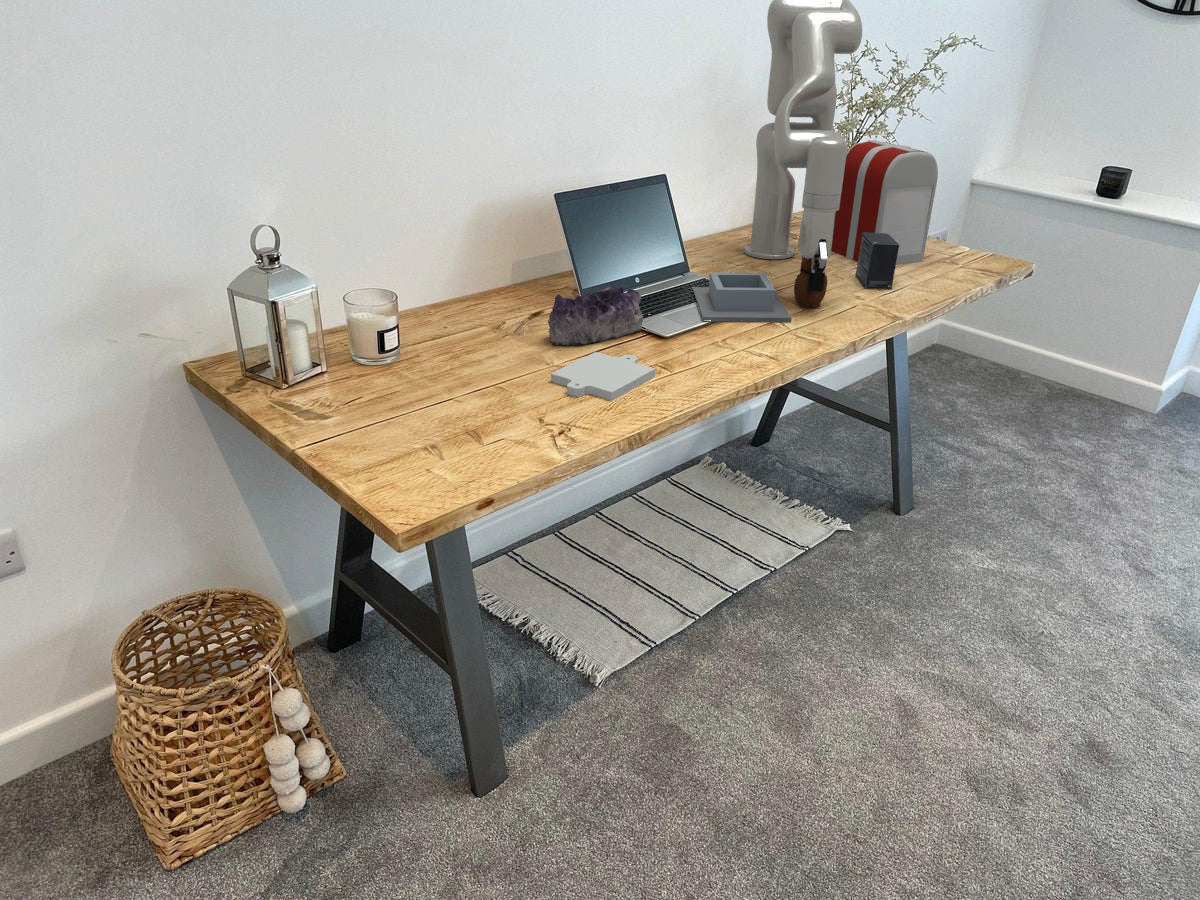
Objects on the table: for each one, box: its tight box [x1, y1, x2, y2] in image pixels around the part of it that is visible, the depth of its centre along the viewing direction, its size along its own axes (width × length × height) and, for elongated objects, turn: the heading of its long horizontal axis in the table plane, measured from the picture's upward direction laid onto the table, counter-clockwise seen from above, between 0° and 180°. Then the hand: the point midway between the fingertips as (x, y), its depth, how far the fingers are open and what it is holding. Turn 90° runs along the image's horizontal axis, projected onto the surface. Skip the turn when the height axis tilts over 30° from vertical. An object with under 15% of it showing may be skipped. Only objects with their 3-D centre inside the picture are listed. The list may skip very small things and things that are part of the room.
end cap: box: [692, 272, 792, 323], centre depth 196 cm, size 20×18×6 cm
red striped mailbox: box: [831, 139, 939, 266], centre depth 229 cm, size 16×18×27 cm
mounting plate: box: [550, 351, 656, 401], centre depth 161 cm, size 18×13×2 cm
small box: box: [855, 232, 899, 290], centre depth 212 cm, size 11×6×10 cm, turn 179°
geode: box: [547, 286, 644, 347], centre depth 179 cm, size 20×12×10 cm, turn 130°
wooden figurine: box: [793, 255, 828, 309], centre depth 195 cm, size 7×6×15 cm
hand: (810, 284), depth 197 cm, fingers open, 6 cm apart
